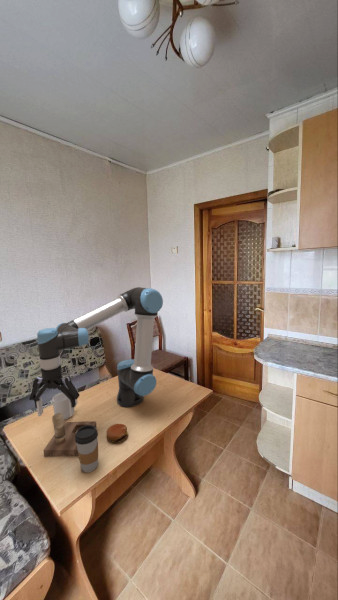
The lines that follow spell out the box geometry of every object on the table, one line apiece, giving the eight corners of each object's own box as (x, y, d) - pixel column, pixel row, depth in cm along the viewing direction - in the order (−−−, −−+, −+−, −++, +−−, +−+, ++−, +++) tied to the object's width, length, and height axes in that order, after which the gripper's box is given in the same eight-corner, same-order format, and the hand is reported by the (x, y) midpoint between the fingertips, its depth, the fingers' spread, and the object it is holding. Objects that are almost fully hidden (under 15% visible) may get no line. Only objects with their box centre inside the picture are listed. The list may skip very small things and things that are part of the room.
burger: (104, 434, 114) (103, 425, 113) (123, 427, 118) (123, 418, 117) (110, 448, 105) (109, 438, 104) (130, 440, 109) (130, 430, 109)
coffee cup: (81, 458, 100) (77, 425, 98) (102, 456, 101) (99, 423, 98) (75, 476, 92) (71, 440, 89) (98, 473, 92) (94, 437, 90)
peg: (68, 437, 108) (64, 412, 106) (63, 444, 104) (60, 418, 102) (58, 437, 109) (55, 412, 107) (53, 444, 104) (50, 419, 102)
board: (96, 426, 119) (96, 421, 119) (82, 456, 101) (81, 449, 101) (64, 427, 120) (63, 421, 119) (44, 456, 102) (43, 450, 102)
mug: (58, 424, 123) (55, 403, 121) (52, 416, 129) (49, 396, 127) (81, 413, 131) (79, 393, 129) (75, 406, 137) (72, 388, 135)
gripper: (84, 362, 104) (88, 408, 107) (26, 363, 105) (32, 409, 108) (77, 369, 97) (82, 419, 100) (15, 370, 98) (22, 420, 101)
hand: (56, 414), depth 104 cm, fingers open, 13 cm apart
